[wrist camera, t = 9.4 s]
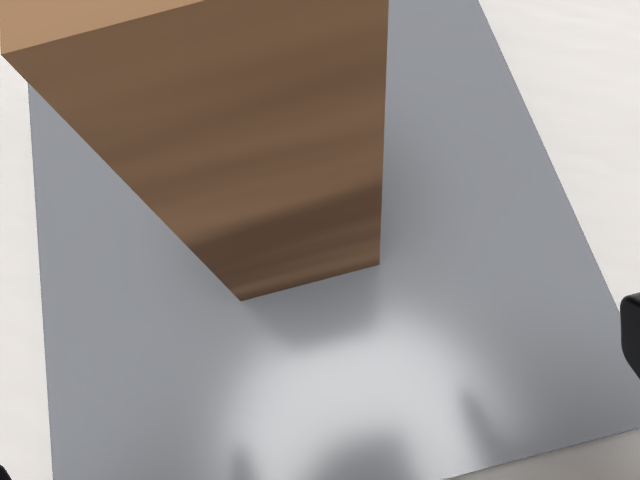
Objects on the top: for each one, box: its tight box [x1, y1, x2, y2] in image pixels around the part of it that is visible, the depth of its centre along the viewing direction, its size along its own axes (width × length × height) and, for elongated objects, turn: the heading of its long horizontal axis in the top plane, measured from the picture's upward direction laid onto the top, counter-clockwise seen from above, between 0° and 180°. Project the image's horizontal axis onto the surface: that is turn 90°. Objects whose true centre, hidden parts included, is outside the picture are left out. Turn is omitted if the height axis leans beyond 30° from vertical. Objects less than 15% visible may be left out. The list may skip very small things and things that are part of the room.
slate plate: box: [28, 0, 640, 480], centre depth 17 cm, size 16×16×1 cm
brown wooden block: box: [0, 0, 389, 301], centre depth 12 cm, size 4×4×11 cm
